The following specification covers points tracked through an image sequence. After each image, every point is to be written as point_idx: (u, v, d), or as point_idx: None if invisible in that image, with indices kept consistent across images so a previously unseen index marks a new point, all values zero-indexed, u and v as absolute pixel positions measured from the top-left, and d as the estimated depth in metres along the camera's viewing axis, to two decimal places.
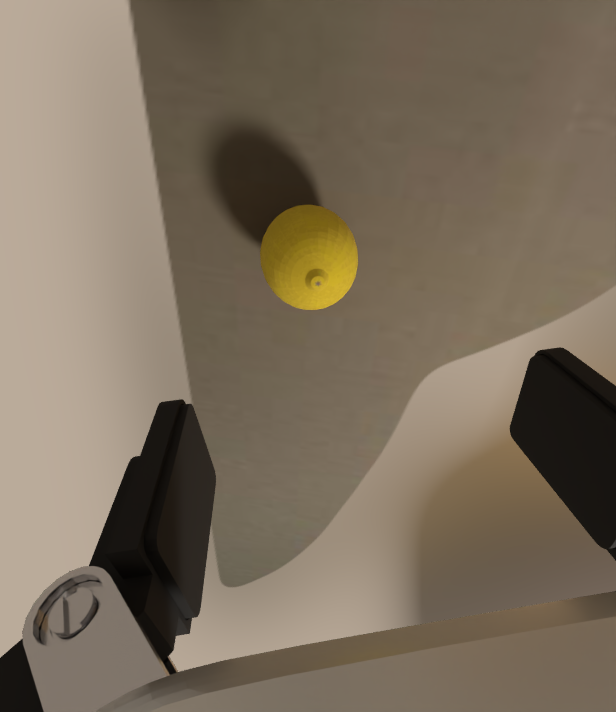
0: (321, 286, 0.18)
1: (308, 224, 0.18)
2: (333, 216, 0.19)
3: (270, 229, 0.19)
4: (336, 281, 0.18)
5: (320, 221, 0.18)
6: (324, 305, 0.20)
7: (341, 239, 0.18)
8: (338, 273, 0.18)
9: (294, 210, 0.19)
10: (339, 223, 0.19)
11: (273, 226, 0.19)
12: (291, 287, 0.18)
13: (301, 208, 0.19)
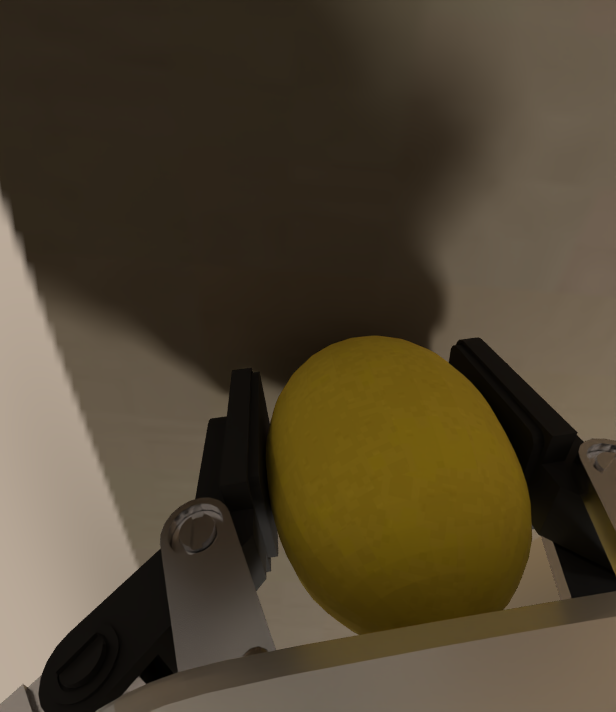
0: None
1: (415, 460, 0.06)
2: (467, 399, 0.07)
3: (293, 427, 0.07)
4: None
5: (448, 442, 0.06)
6: None
7: (513, 499, 0.06)
8: (505, 603, 0.06)
9: (357, 382, 0.07)
10: (490, 427, 0.07)
11: (301, 422, 0.07)
12: (359, 631, 0.06)
13: (378, 376, 0.07)
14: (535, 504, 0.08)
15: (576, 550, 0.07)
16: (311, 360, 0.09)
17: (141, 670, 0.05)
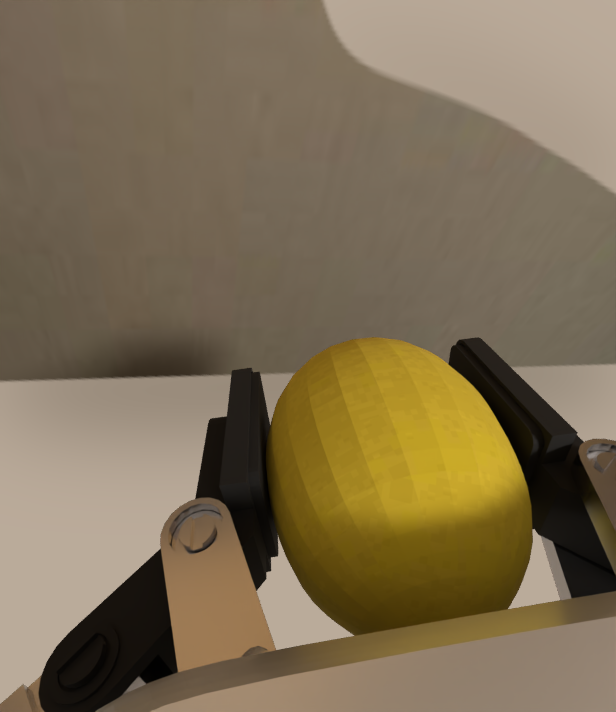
0: None
1: (415, 463, 0.06)
2: (467, 402, 0.07)
3: (293, 429, 0.07)
4: None
5: (449, 445, 0.06)
6: None
7: (514, 503, 0.06)
8: (505, 606, 0.06)
9: (358, 384, 0.07)
10: (490, 430, 0.07)
11: (302, 425, 0.07)
12: (360, 634, 0.06)
13: (378, 378, 0.07)
14: (535, 504, 0.08)
15: (576, 550, 0.07)
16: (311, 362, 0.09)
17: (141, 670, 0.05)
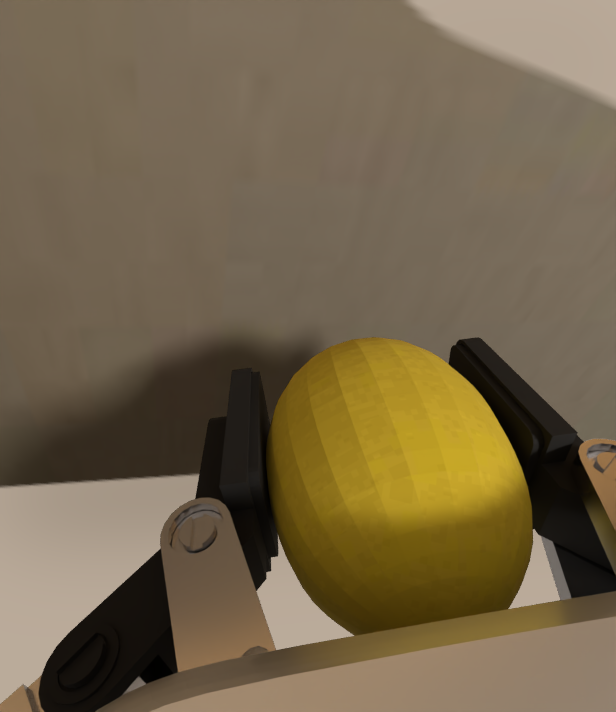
0: None
1: (416, 463, 0.06)
2: (467, 402, 0.07)
3: (293, 429, 0.07)
4: None
5: (449, 445, 0.06)
6: None
7: (514, 503, 0.06)
8: (506, 606, 0.06)
9: (358, 385, 0.07)
10: (490, 430, 0.07)
11: (302, 425, 0.07)
12: None
13: (379, 378, 0.07)
14: (535, 504, 0.08)
15: (577, 550, 0.07)
16: (311, 362, 0.09)
17: (141, 670, 0.05)
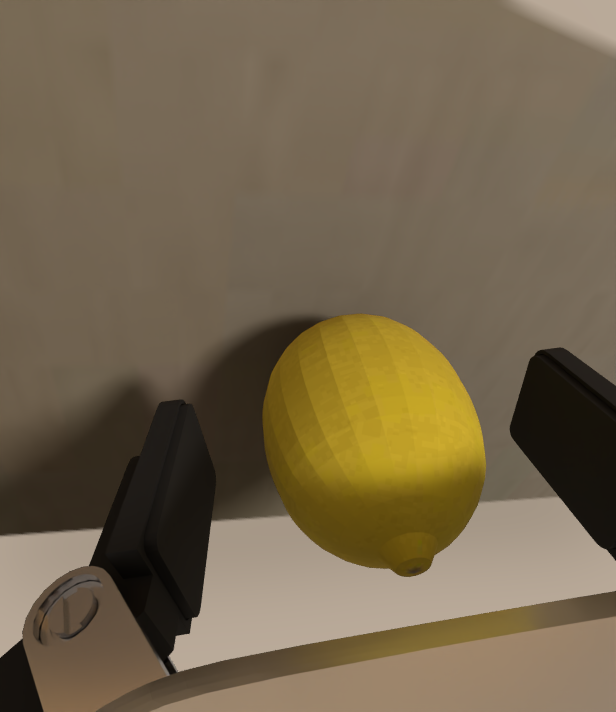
0: (420, 572, 0.07)
1: (385, 407, 0.07)
2: (432, 363, 0.08)
3: (285, 387, 0.09)
4: (451, 539, 0.07)
5: (412, 393, 0.07)
6: None
7: (466, 440, 0.07)
8: (458, 525, 0.07)
9: (340, 349, 0.08)
10: (450, 385, 0.08)
11: (293, 383, 0.08)
12: (339, 551, 0.08)
13: (358, 343, 0.08)
14: None
15: None
16: (302, 334, 0.10)
17: None
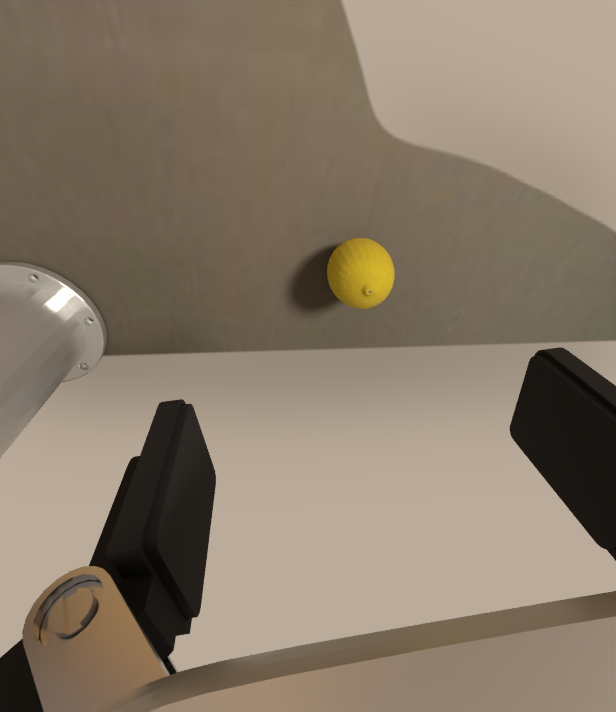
0: (372, 293, 0.28)
1: (362, 253, 0.28)
2: (378, 246, 0.29)
3: (335, 256, 0.30)
4: (381, 289, 0.28)
5: (370, 250, 0.28)
6: (372, 305, 0.30)
7: (384, 262, 0.28)
8: (382, 284, 0.28)
9: (351, 243, 0.29)
10: (382, 251, 0.29)
11: (338, 254, 0.29)
12: (352, 294, 0.28)
13: (356, 241, 0.29)
14: None
15: None
16: (339, 245, 0.31)
17: None
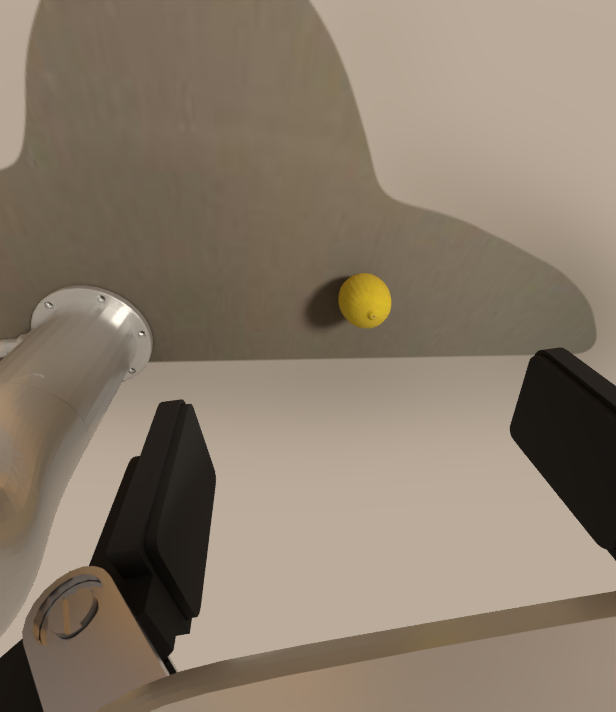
0: (375, 317, 0.36)
1: (368, 287, 0.37)
2: (379, 281, 0.38)
3: (346, 287, 0.38)
4: (382, 314, 0.37)
5: (373, 285, 0.37)
6: (374, 326, 0.38)
7: (384, 294, 0.37)
8: (383, 310, 0.37)
9: (359, 278, 0.38)
10: (382, 285, 0.38)
11: (348, 286, 0.38)
12: (359, 317, 0.37)
13: (362, 277, 0.38)
14: None
15: None
16: (348, 278, 0.40)
17: None
